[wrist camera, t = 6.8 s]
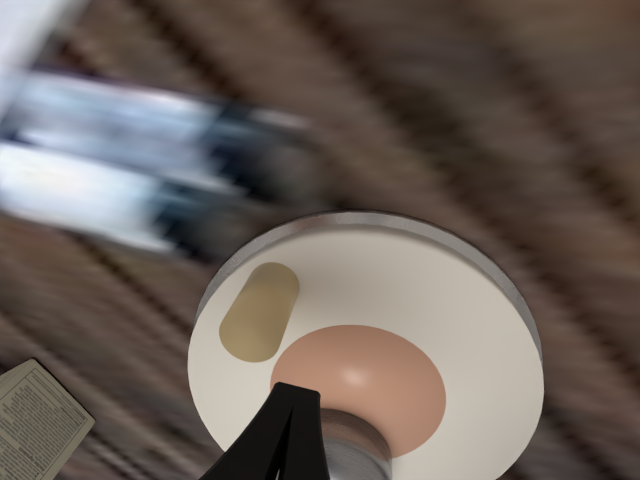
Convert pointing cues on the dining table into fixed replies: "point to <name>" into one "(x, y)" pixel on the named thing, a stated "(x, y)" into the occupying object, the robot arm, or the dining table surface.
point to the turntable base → (385, 220)
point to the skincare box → (37, 424)
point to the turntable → (374, 347)
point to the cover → (354, 448)
